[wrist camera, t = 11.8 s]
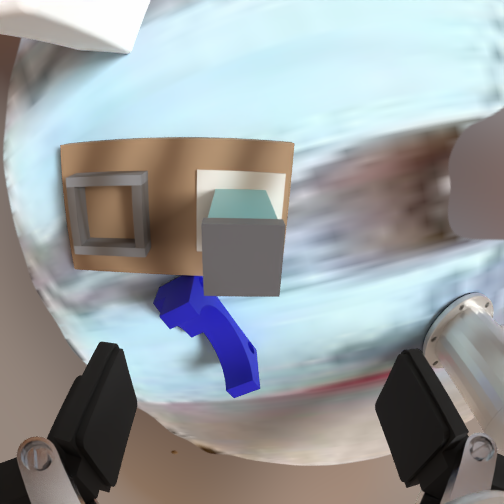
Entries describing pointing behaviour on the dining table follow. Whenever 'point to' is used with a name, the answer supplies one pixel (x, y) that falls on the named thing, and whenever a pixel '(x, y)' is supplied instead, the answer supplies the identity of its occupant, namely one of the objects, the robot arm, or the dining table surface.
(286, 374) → the dining table surface
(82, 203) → the board
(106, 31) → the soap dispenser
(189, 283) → the cable clip
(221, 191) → the plug
